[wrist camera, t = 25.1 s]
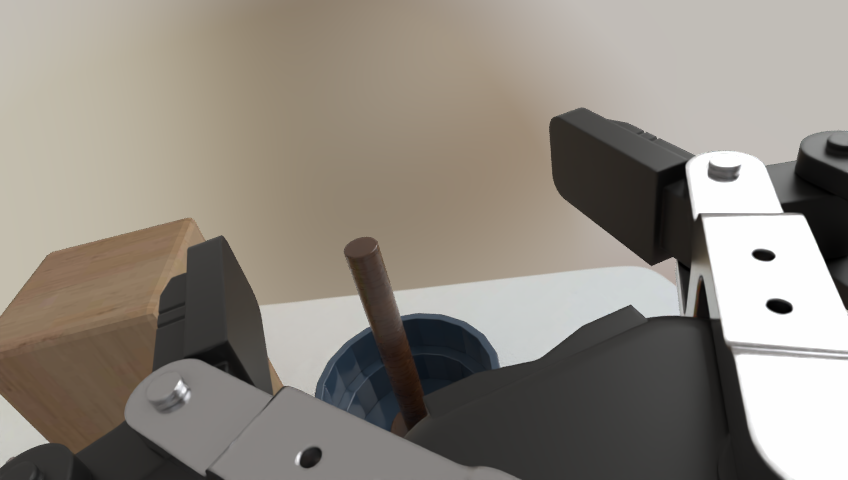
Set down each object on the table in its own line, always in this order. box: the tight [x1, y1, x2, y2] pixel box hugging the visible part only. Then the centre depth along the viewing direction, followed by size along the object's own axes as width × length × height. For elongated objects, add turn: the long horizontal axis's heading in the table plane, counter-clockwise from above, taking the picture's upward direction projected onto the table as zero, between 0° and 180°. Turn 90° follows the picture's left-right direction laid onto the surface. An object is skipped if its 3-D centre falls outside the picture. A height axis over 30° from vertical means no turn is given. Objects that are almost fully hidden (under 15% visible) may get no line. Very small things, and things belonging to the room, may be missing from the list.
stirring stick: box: [344, 237, 428, 438], centre depth 35 cm, size 5×5×18 cm
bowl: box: [315, 313, 500, 432], centre depth 39 cm, size 13×13×7 cm
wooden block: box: [0, 218, 283, 454], centre depth 37 cm, size 10×10×20 cm
